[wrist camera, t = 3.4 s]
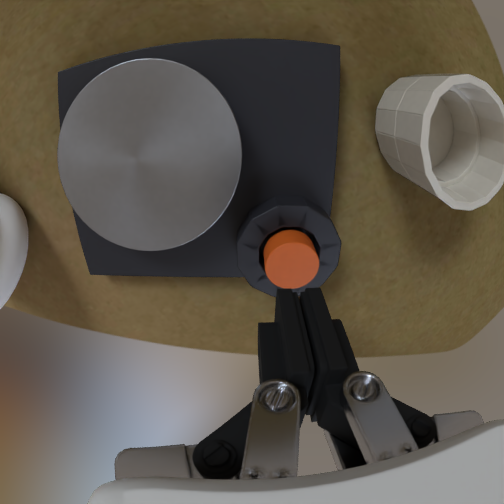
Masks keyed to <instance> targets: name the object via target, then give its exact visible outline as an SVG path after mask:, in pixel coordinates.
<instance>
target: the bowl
mask: <svg viewBox="0 0 504 504" xmlns="http://www.w3.org/2000/svg"><path fill="white" fill-rule="evenodd" d="M375 133H376V136H377V140H378V143H379V147H380V151H381V152H382V155H383V156H384V158H385V159H386V161H387V162H388V164H389V165H390V166H391V168H392V169H393V170H394V171H395V172H397V173H398V174H400V175H402V176H403V177H405V178H406V179H408V180H409V181H411V182H413V183H414V184H416V185H418V186H419V187H421V188H422V189H424V190H426V191H427V192H429V193H430V194H432V195H433V196H435V197H436V198H438V199H439V200H441V201H442V202H444V203H445V204H447V205H448V206H450V207H451V208H453V209H459V210H468V211H470V210H474V209H476V208H478V207H480V206H483V205H485V204H487V203H488V202H489V201H490V200H491V199H492V198H493V196H494V195H495V194H496V193H497V192H498V191H499V190H500V188H501V186H502V184H503V182H504V105H503V103H502V101H501V99H500V98H499V96H498V95H497V94H496V93H495V92H494V90H493V89H492V88H491V87H490V86H489V85H488V83H486V82H484V81H483V80H480V79H478V78H476V77H474V76H472V75H470V74H424V75H413V76H407V77H402V78H399V79H398V80H397V81H395V82H394V83H393V84H392V85H390V86H389V87H388V88H387V89H386V90H385V91H384V94H383V96H382V98H381V100H380V102H379V104H378V106H377V110H376V124H375Z"/></svg>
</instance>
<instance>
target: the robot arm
mask: <svg viewBox="0 0 504 504" xmlns="http://www.w3.org/2000/svg"><path fill="white" fill-rule="evenodd" d="M258 359H259V378H260V385H259V386H258V387H257V388H256V389H255V392H254V395H253V401H252V402H250V403H249V404H248V405H247V406H246V407H245V408H243V409H242V410H241V411H240V412H238V413H237V414H236V415H235V416H233V417H232V418H231V419H230V420H228V421H227V422H226V423H225V424H223V425H222V426H221V427H219V428H218V429H217V430H216V431H214V432H213V433H212V434H210V435H209V436H208V437H206V438H205V439H204V440H202V441H201V442H200V443H199V444H197V445H189V446H185V445H184V444H180V445H170V446H161V447H160V446H159V447H144V448H129V449H124V450H123V451H122V452H120V453H119V454H118V455H117V457H116V459H115V478H116V480H115V481H111V482H108V483H105V484H103V485H101V486H99V487H98V488H97V489H96V490H95V491H94V492H93V493H92V495H91V497H90V499H89V501H88V503H87V504H504V420H494V421H489V422H486V423H484V422H483V419H482V416H481V415H480V414H479V413H477V412H476V411H463V412H454V413H445V414H435V415H433V417H429V416H428V415H426V414H425V413H422V412H420V411H418V410H416V409H414V408H412V407H410V406H408V405H406V404H404V403H402V402H400V401H398V400H396V399H394V398H392V397H390V395H389V393H388V391H387V389H386V388H385V386H384V384H383V382H382V381H381V380H380V378H379V377H377V376H376V375H374V374H373V373H370V372H366V371H359V368H358V366H357V362H356V360H355V357H354V354H353V351H352V348H351V346H350V343H349V340H348V337H347V335H346V332H345V329H344V327H343V324H342V322H341V320H340V319H333V320H332V319H331V316H330V314H329V311H328V308H327V305H326V302H325V299H324V297H323V294H322V291H321V289H320V288H305V292H300V297H299V298H298V294H297V292H292V289H291V288H285V289H277V292H276V307H275V321H274V322H269V323H258ZM305 414H306V415H310V416H311V421H312V422H315V421H317V423H318V426H320V427H321V428H323V429H324V435H325V437H326V440H327V442H328V445H329V448H330V451H331V453H332V456H333V459H334V461H335V464H336V467H337V469H338V471H333V472H327V473H321V474H313V475H306V476H297V470H298V452H299V430H300V427H301V424H302V421H303V418H304V415H305Z"/></svg>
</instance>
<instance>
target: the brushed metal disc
mask: <svg viewBox="0 0 504 504" xmlns="http://www.w3.org/2000/svg"><path fill="white" fill-rule="evenodd" d="M241 165H242V142H241V136H240V131H239V126H238V123H237V121H236V118H235V115H234V112H233V111H232V109H231V107H230V105H229V103H228V101H227V100H226V98H225V97H224V96H223V94H222V93H221V92H220V90H219V89H218V88H217V87H216V86H215V85H214V84H213V83H212V82H211V81H210V80H209V79H207V78H206V77H204V76H203V75H202V74H200V73H199V72H197V71H196V70H194V69H192V68H190V67H188V66H186V65H183V64H180V63H177V62H174V61H171V60H165V59H158V58H144V59H136V60H131V61H127V62H124V63H120V64H118V65H116V66H114V67H111V68H109V69H107V70H106V71H104V72H102V73H101V74H99V75H98V76H97V77H95V78H94V79H93V80H92V81H90V82H89V83H88V84H87V85H86V86H85V87H84V88H83V89H82V91H81V92H80V93H79V94H78V96H77V97H76V98H75V100H74V101H73V103H72V104H71V106H70V108H69V110H68V112H67V114H66V116H65V119H64V121H63V124H62V127H61V131H60V135H59V142H58V169H59V174H60V179H61V183H62V186H63V189H64V191H65V194H66V196H67V198H68V200H69V202H70V204H71V205H72V207H73V209H74V210H75V212H76V213H77V214H78V216H79V217H80V218H81V219H82V220H83V221H84V222H85V223H86V224H87V225H88V226H89V227H90V228H91V229H92V230H93V231H95V232H96V233H97V234H98V235H100V236H102V237H103V238H105V239H107V240H108V241H110V242H113V243H115V244H117V245H120V246H123V247H126V248H130V249H135V250H142V251H158V250H165V249H170V248H174V247H177V246H180V245H183V244H186V243H188V242H190V241H192V240H194V239H195V238H197V237H198V236H200V235H202V234H203V233H204V232H206V231H207V230H208V229H209V228H210V227H211V226H213V225H214V223H215V222H216V221H217V220H218V219H219V218H220V217H221V216H222V214H223V213H224V211H225V210H226V208H227V207H228V205H229V203H230V201H231V199H232V197H233V195H234V193H235V190H236V187H237V184H238V181H239V177H240V172H241Z"/></svg>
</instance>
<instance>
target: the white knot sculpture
mask: <svg viewBox="0 0 504 504" xmlns="http://www.w3.org/2000/svg"><path fill="white" fill-rule="evenodd" d="M27 251H28V225H27V220H26V217H25V215H24V212H23V210H22V208H21V207H20V206H19V204H18V203H17V202H16V201H15V200H13V199H12V198H11V197H9V196H7V195H5V194H1V193H0V309H1V308H2V307H3V306H4V304H5V303H6V302H7V301H8V299H9V298H10V296H11V294H12V293H13V291H14V289H15V288H16V286H17V283H18V281H19V279H20V276H21V274H22V271H23V268H24V265H25V261H26V257H27Z"/></svg>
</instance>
